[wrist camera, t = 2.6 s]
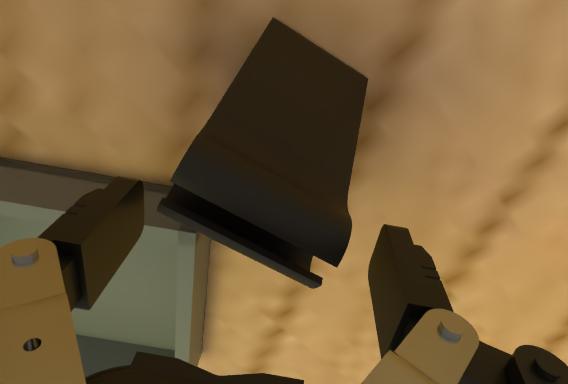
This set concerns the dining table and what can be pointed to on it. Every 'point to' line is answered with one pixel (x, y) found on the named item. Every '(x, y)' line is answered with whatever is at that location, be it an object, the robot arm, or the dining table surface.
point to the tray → (129, 277)
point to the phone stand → (276, 158)
